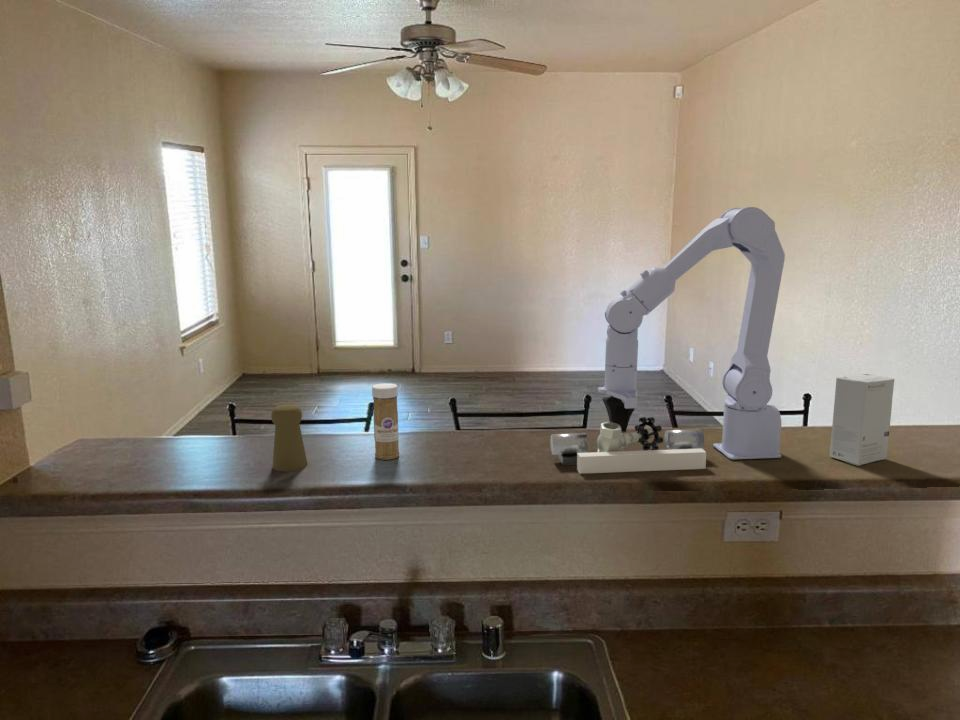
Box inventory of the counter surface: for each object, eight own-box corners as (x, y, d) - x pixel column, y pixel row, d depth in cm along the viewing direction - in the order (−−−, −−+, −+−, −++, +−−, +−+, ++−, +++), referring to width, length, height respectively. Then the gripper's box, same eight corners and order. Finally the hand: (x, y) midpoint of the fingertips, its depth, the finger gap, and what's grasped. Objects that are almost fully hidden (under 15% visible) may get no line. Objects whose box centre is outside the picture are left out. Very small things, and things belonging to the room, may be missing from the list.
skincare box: (858, 467, 120) (866, 383, 117) (827, 457, 125) (834, 376, 122) (888, 459, 123) (897, 377, 121) (856, 449, 129) (864, 371, 126)
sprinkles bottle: (380, 462, 124) (377, 389, 122) (371, 455, 128) (367, 384, 126) (404, 457, 127) (401, 386, 124) (393, 451, 131) (391, 381, 128)
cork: (313, 461, 125) (310, 402, 123) (296, 472, 120) (292, 411, 118) (284, 458, 127) (280, 400, 125) (265, 469, 121) (261, 409, 119)
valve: (609, 470, 120) (660, 457, 126) (614, 435, 118) (666, 424, 124) (585, 453, 126) (636, 442, 131) (590, 420, 123) (641, 410, 129)
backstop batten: (700, 464, 121) (701, 448, 121) (705, 468, 119) (706, 452, 119) (576, 469, 120) (577, 452, 119) (579, 473, 118) (579, 456, 117)
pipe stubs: (694, 452, 128) (696, 426, 127) (704, 460, 124) (705, 433, 123) (549, 457, 126) (550, 430, 125) (554, 465, 122) (554, 438, 121)
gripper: (590, 357, 133) (587, 425, 136) (609, 373, 119) (607, 449, 121) (626, 356, 134) (623, 424, 136) (650, 372, 119) (646, 448, 122)
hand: (618, 436), depth 129 cm, fingers closed
